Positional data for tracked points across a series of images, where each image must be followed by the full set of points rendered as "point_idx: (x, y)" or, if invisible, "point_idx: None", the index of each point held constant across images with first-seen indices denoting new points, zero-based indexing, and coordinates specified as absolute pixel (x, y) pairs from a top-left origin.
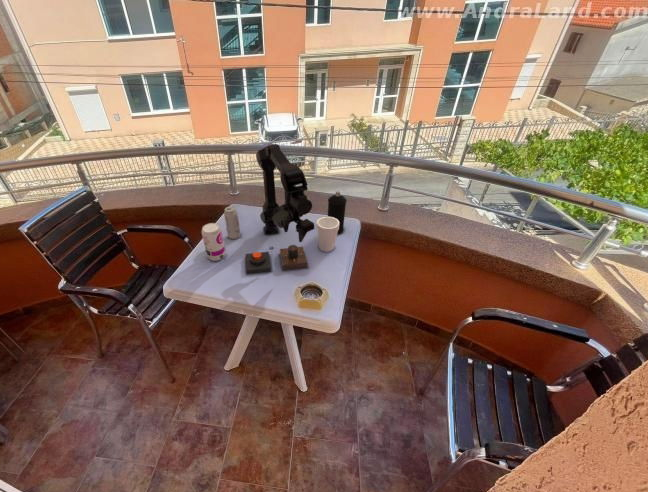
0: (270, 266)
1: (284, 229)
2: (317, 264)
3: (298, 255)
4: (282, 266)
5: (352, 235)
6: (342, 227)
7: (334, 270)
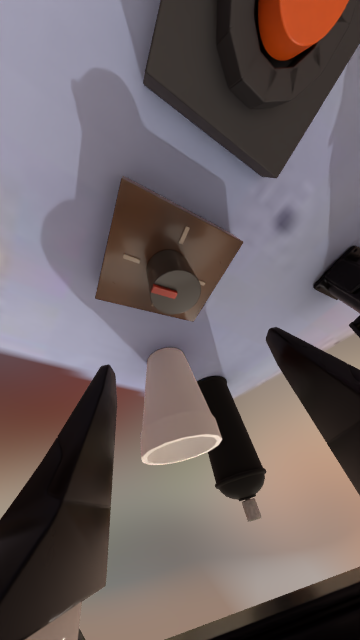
0: (158, 81)
1: (292, 343)
2: (105, 318)
3: None
4: (148, 189)
5: None
6: None
7: (56, 344)
